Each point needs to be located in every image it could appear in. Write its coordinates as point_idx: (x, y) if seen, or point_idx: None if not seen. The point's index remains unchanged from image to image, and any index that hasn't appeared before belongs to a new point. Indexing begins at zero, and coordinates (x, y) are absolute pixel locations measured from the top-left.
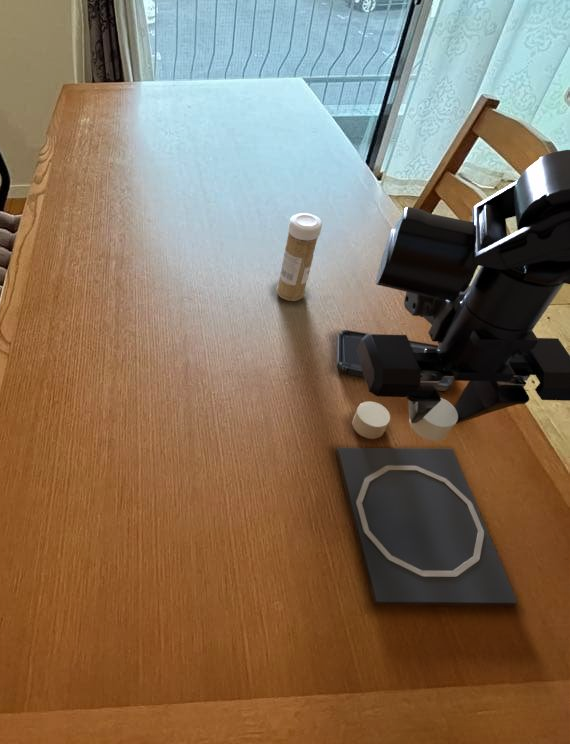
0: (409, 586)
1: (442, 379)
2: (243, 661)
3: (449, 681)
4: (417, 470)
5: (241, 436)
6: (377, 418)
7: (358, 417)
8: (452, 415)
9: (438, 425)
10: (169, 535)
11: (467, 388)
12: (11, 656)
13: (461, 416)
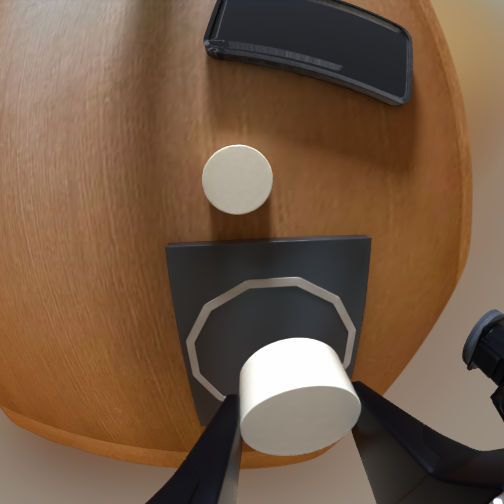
0: None
1: (397, 88)
2: (105, 430)
3: None
4: (297, 286)
5: (45, 225)
6: (243, 191)
7: (203, 188)
8: (338, 429)
9: (283, 454)
10: (26, 347)
11: (405, 458)
12: (5, 394)
13: (356, 438)
